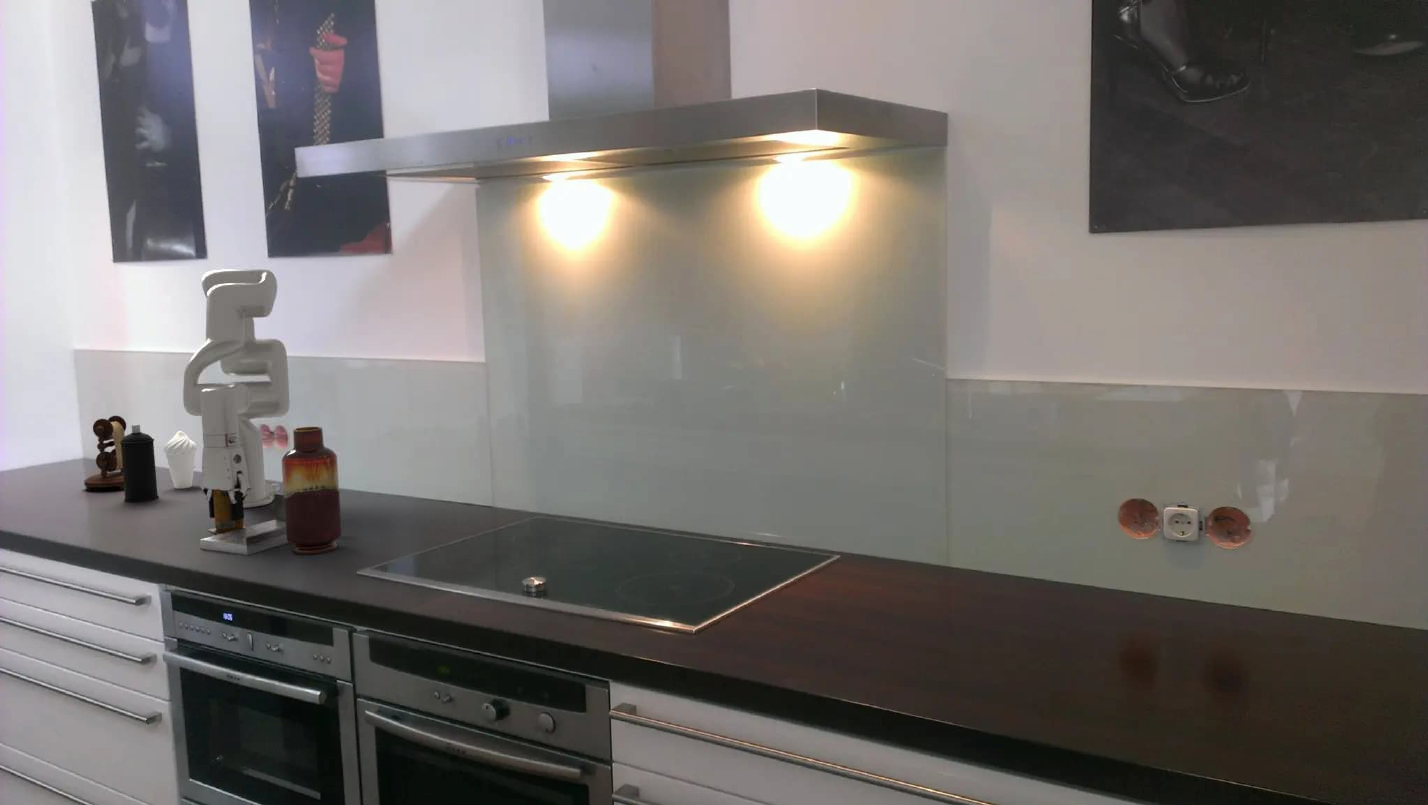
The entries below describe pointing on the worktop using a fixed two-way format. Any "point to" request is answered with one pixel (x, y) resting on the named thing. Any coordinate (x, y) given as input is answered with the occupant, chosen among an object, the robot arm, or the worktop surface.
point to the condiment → (224, 513)
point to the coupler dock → (252, 535)
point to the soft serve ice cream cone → (181, 459)
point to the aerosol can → (138, 466)
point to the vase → (311, 493)
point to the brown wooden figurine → (108, 453)
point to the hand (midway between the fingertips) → (226, 517)
